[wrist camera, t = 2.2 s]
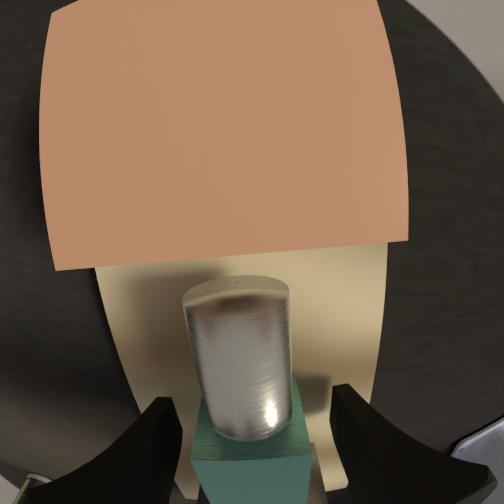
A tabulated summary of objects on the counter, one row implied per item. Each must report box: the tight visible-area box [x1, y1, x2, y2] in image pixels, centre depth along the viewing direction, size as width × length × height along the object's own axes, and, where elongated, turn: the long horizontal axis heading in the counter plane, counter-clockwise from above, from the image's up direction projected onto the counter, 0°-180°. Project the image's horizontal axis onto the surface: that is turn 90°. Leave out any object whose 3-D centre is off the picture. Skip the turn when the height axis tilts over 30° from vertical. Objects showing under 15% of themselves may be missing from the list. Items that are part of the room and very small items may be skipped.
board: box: [95, 242, 387, 499], centre depth 11 cm, size 22×10×1 cm, turn 5°
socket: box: [39, 0, 408, 271], centre depth 6 cm, size 6×6×4 cm
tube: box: [182, 275, 312, 504], centre depth 9 cm, size 15×3×4 cm, turn 5°
